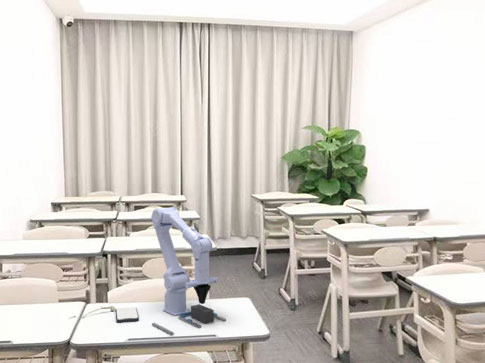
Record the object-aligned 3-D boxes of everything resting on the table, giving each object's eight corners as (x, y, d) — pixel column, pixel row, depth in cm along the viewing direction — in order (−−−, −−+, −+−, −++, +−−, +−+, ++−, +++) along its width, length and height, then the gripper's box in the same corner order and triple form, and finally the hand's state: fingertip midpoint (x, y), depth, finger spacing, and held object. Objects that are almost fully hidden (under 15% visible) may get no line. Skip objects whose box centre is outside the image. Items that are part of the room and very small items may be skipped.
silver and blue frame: (150, 324, 192) (150, 320, 192) (203, 311, 208) (203, 308, 208) (171, 335, 181) (171, 331, 180) (226, 320, 197) (226, 317, 196)
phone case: (115, 312, 209) (116, 324, 194) (115, 308, 209) (116, 320, 194) (136, 310, 211) (139, 322, 196) (136, 307, 211) (139, 318, 196)
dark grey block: (190, 318, 200) (190, 306, 200) (199, 316, 203) (199, 304, 203) (205, 324, 193) (205, 312, 192) (213, 322, 195) (213, 310, 195)
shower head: (69, 328, 198) (119, 315, 207) (69, 321, 197) (119, 308, 206) (66, 320, 202) (115, 308, 212) (66, 313, 201) (115, 302, 210)
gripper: (192, 273, 189) (192, 309, 190) (222, 268, 198) (222, 301, 199) (182, 270, 194) (182, 304, 195) (212, 265, 204) (212, 298, 204)
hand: (202, 303), depth 197 cm, fingers closed
